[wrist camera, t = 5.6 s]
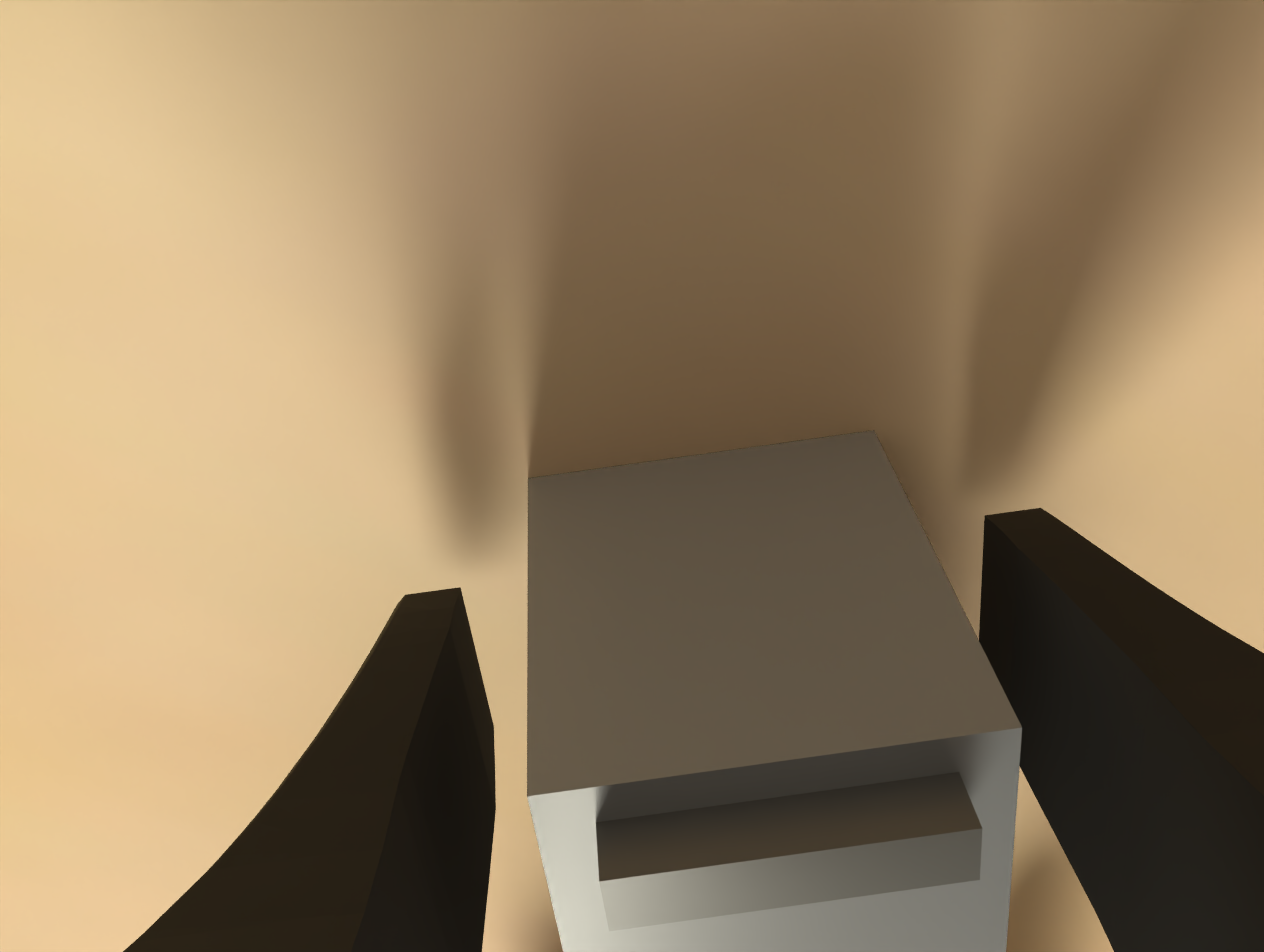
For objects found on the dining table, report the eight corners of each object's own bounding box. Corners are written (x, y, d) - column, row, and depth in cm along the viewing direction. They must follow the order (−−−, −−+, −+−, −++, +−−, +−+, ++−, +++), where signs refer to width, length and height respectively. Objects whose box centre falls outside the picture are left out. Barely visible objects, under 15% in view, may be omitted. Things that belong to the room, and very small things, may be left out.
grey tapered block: (871, 424, 14) (1049, 783, 9) (878, 885, 18) (1002, 1295, 13) (528, 473, 14) (526, 855, 9) (614, 923, 18) (644, 1344, 13)
